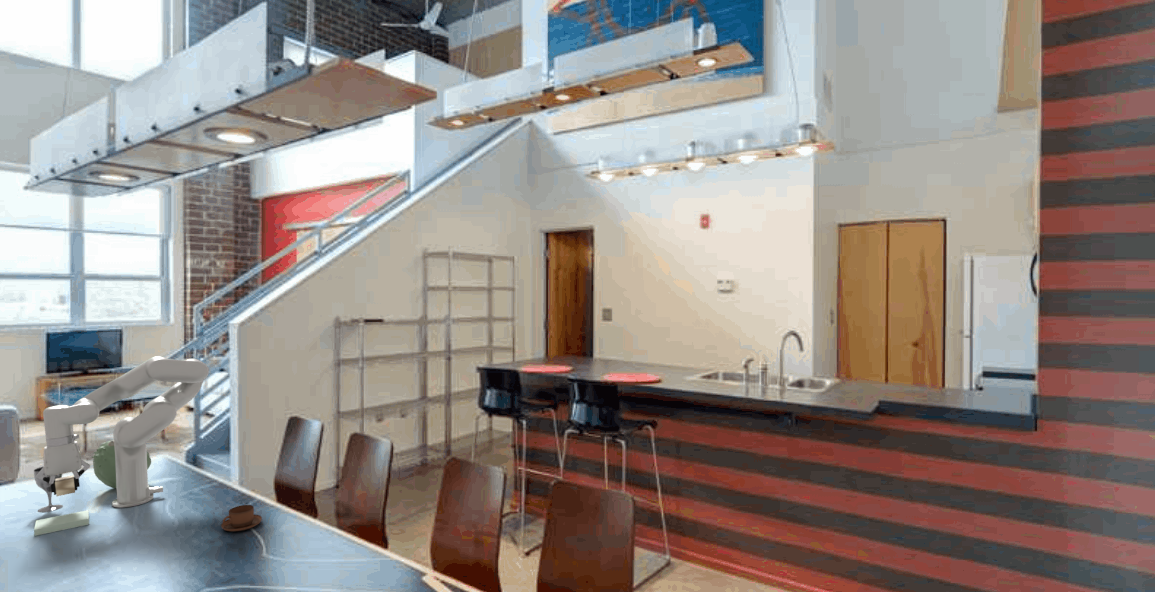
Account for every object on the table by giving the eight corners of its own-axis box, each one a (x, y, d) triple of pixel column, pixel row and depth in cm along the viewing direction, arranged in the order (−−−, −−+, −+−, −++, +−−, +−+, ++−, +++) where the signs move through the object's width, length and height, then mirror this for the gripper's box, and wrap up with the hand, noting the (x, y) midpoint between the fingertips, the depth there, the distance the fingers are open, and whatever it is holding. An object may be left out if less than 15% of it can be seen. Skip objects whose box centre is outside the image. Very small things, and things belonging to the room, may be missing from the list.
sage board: (88, 515, 218) (88, 509, 218) (89, 524, 210) (88, 518, 210) (36, 526, 210) (36, 520, 210) (34, 535, 202) (34, 529, 202)
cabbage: (159, 483, 251) (157, 434, 250) (104, 498, 235) (102, 446, 234) (141, 477, 259) (138, 429, 258) (87, 491, 243) (84, 440, 242)
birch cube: (75, 488, 222) (73, 475, 221) (75, 492, 218) (73, 478, 217) (57, 492, 219) (55, 478, 218) (56, 496, 215) (55, 482, 214)
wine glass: (70, 504, 229) (68, 464, 229) (50, 513, 221) (47, 471, 221) (50, 504, 230) (48, 464, 229) (29, 512, 222) (27, 471, 221)
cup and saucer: (244, 536, 200) (243, 517, 199) (212, 533, 202) (211, 514, 202) (270, 521, 211) (269, 503, 211) (239, 518, 214) (238, 501, 213)
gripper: (91, 433, 225) (96, 482, 226) (28, 444, 215) (34, 495, 216) (91, 437, 219) (96, 487, 221) (27, 449, 209) (33, 501, 210)
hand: (65, 491), depth 218 cm, fingers closed on birch cube, 5 cm apart
